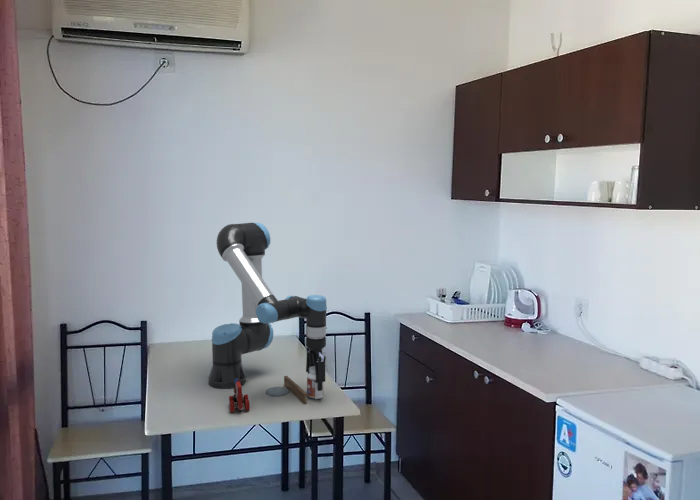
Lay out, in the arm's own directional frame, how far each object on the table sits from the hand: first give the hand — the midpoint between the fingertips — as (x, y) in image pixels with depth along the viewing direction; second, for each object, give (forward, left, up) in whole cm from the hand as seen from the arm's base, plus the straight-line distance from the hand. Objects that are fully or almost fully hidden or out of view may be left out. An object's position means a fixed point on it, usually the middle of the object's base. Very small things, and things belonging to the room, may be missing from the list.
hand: (315, 394), depth 235 cm
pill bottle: (0, 0, -1) cm, 1 cm away
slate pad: (-11, +12, -1) cm, 16 cm away
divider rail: (-6, +7, -1) cm, 9 cm away
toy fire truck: (-29, +2, -1) cm, 29 cm away
